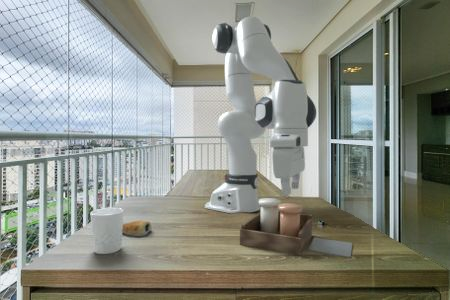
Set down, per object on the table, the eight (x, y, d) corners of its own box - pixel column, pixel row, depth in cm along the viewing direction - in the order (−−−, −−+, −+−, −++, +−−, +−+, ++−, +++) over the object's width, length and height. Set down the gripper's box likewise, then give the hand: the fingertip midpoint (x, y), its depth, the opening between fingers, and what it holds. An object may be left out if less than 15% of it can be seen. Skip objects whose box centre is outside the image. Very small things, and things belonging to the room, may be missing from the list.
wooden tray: (239, 246, 79) (240, 222, 79) (259, 229, 93) (259, 208, 93) (300, 257, 72) (300, 230, 72) (311, 237, 86) (312, 215, 86)
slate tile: (307, 252, 75) (307, 249, 75) (314, 240, 84) (314, 237, 84) (350, 259, 71) (350, 256, 71) (352, 245, 80) (352, 243, 80)
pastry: (114, 235, 88) (114, 223, 88) (125, 228, 94) (125, 217, 94) (144, 237, 86) (143, 224, 86) (153, 230, 93) (153, 218, 93)
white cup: (97, 244, 80) (96, 207, 80) (127, 243, 81) (126, 207, 81) (86, 255, 73) (85, 215, 72) (119, 255, 73) (118, 215, 73)
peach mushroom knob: (274, 244, 79) (275, 207, 79) (281, 236, 85) (281, 202, 85) (298, 248, 77) (299, 210, 76) (303, 240, 82) (304, 204, 82)
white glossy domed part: (255, 235, 86) (255, 201, 85) (262, 229, 92) (262, 197, 91) (276, 239, 83) (277, 203, 83) (282, 232, 89) (283, 199, 88)
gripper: (288, 139, 90) (289, 185, 90) (267, 140, 72) (268, 197, 72) (309, 139, 87) (310, 186, 88) (293, 140, 69) (294, 199, 69)
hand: (291, 191), depth 80 cm, fingers open, 8 cm apart
